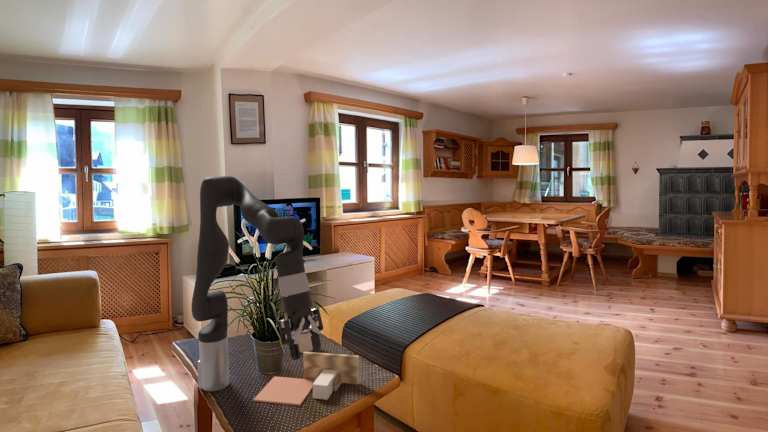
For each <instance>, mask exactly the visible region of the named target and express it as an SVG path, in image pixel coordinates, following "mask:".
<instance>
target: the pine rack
mask: <svg viewBox="0 0 768 432" xmlns="http://www.w3.org/2000/svg"><path fill="white" fill-rule="evenodd" d="M302 357H303V359H302V360H303V361H302V362H303V379H310V380H316V379H317V378H318V376H319V375H320V374H321V372H322V371H323V370H324V369H328V370H338V375H337V376H336V378H335V380H334V381H333V389H334V390H333V392H334V391H335V393H336V391H337V392H338V391H339V388H340V387H341V385H342V384H346V383H347V384H348V385H357V384H358V386H359V385H360V355H353V354H344V353H343V354H339V353H328V352H327V353H326V352H313V351H310V352H304V353H302Z"/></svg>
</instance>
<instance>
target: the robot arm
mask: <svg viewBox="0 0 768 432" xmlns="http://www.w3.org/2000/svg"><path fill="white" fill-rule="evenodd" d="M199 194H200V195H199V205H200V206H199V208H200V209H199V210H200V211H199V214H200V218H199V219H200V220H199V221H200V222H199V237H198V246H197V254H196V255H197V257H196V273H195V282H194V288H193V292H192V298H191V315H192V317H193V319H194V320H195V321H197V322H206V321H210V320H211V321H210V322H209V323H208V324H206V325H205V326H203V327H202V328H201V329H200V330H199V331H198V334H197V337H198V338H197V339H198V351H199V352H198V353H199V359H198V360H197V361H196V364H197V365H196V366H197V381H198V382H197V383H198V384H197V385H198V389H202V391H205V392H217V391H221V390H224V389H225V388H227V387H228V386H229V385H230V369H229V368H230V364H229V344H228V328H229V327H228V326H229V325H228V322H229V321H228V319H229V318H228V316H229V315H228V312H229V306H228V305H229V304H228V298H227V294H226V293H225V292H224V290H221V289H220V290H213V291H209V290H210V288H211V286H212V284H213V283H214V281H215V280H216V279H217V278H218V277H219V275H220V274H221V273H222V272H223V270H224V269H225V267H226V265H227V263H228V257H229V251H230V249H229V248H230V244H229V240H228V238H227V236H226V233H224V231H223V230H222V227H221V226H220V225H219V223H218V219H217V210H218V208H223V207H230V206H232V205H233V206H234V205H235V206H237V207H239V208H240V214H241V216H242V218H243V219H244V221H245V222H246V223H247V224H249V225H250V226H252V227H253V228H255V229H257V231H258V232H259V234H260V235H261V237H262V239H263V240H264V241H265V243H268V244H270V245H272V246H273V245H275V246H278V245H284V244H285V245H286V248H285V251H284V252H282V253H280V254H278V255H276V257H275V267H276V272H277V277H278V287H279V288H278V289H279V293H280V300H281V304H282V310H283V313H285V314H286V315H287V316H286V319H280V320H278V327H279V334H280V341H281V342H280V343H281V345H283V346H285V345H287V346H288V347H289V353H290V357H291V360H292V361H297V360H300V359H301V358H302V357H301V353H300V351H299V346H298V344H297V342H298V338H299V336H300V335H301V332H302V331H304V330H307V331H308V332H309V333H310V334H311V335H312V336H311V342H312V347H313V350H314V351H315V350H320V349H321V345H322V343H321V338H320V333H321V331H323V330H324V326H323V325H324V323H323V320H322V315H321V312H320V309H319V308H312V307H313V299H312V295H311V290H310V284H309V279H308V277H307V274H306V269H305V263H304V259H303V255H304V254H303V252H304V251H303V250H304V237H305V235H304V234H305V230H304V225H303V223H302V221H301V220H300V219H299V218H298V217H296V216H294V215H293V216H292V215H291V216H281V217H279V213H278V212H277V211H276V209H275V208H273V207H271V206H270V205H268V204H267V203H265V202H263V201H261V200H260V199H258V198H257V197H256V196H255V195H254V194H253V193H252V192H251V191H250V190H249V188H247V187H246V186H245V185H244V184H243V183H242V182H241V181H240V180H239V179H238V178H236V177H234V176H230V175H219V176H210V177H205V178H204V179H203V180H202V181H201V184H200V191H199ZM311 308H312V309H311ZM293 330H294V332H293ZM286 335H287V339H286V337H285V336H286ZM293 337H294V338H293Z"/></svg>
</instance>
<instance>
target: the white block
mask: <svg viewBox="0 0 768 432" xmlns="http://www.w3.org/2000/svg"><path fill="white" fill-rule="evenodd" d="M337 375H338V370H328V369H324V370H323V371H322V372H321V374H320V375H319V376H318V378H317V379H316V380H315V382H314V383H313V388H312V398H313V399H317V400H325V401H326V400H327V401H328V400H329V398H330V397H331V395H332V394H333V392H334V389H333V381H334V380H335V378H336V376H337Z"/></svg>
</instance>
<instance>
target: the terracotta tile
mask: <svg viewBox="0 0 768 432" xmlns="http://www.w3.org/2000/svg"><path fill="white" fill-rule="evenodd" d="M314 382H315V380H310V379H304V378H296V377H285V376H276V375H275V376H273V377H272V378H271V379H270V380H269V381H268V383H267V384H266V385H265V386H264V387H263V388H262V389H261V390H260V392H259V393H257V395H256V396H255V397H254V398H253V399H252V400H253V402H258V403H259V402H260V403H265V404H266V403H267V404H268V403H269V404H278V405H286V406H287V405H288V406H295V407H301V406H302V404H303V403H304V401H305V400H306V398H307V397H308V396H309V394H310V392H311V391H313V383H314Z"/></svg>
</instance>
